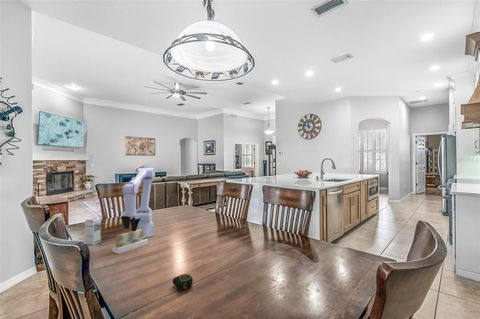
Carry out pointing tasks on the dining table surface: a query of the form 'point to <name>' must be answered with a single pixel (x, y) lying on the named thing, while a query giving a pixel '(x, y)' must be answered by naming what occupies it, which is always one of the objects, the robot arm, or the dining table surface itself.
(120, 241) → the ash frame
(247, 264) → the dining table surface
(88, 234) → the syrup box
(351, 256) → the dining table surface
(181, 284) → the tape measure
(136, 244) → the bar
